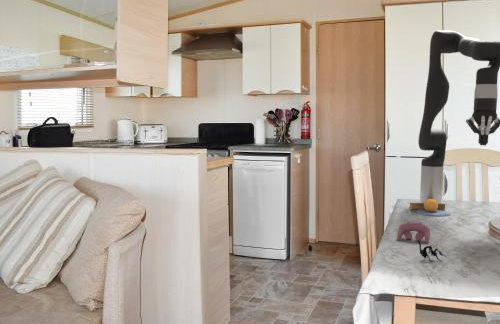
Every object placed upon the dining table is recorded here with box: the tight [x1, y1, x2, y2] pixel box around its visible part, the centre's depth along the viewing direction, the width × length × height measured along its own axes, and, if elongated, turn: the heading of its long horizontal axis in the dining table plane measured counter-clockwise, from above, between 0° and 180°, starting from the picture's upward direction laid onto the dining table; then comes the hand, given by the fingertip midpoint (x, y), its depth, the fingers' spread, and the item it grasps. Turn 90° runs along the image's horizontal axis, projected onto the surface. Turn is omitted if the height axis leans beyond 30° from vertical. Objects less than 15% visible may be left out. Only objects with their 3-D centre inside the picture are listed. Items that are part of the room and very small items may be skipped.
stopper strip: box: [409, 202, 446, 211], centre depth 211 cm, size 2×14×2 cm, turn 87°
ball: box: [424, 199, 438, 212], centre depth 205 cm, size 6×6×6 cm
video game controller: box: [396, 221, 431, 244], centre depth 160 cm, size 10×5×7 cm, turn 66°
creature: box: [417, 240, 448, 263], centre depth 138 cm, size 8×5×8 cm
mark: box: [415, 209, 451, 217], centre depth 203 cm, size 13×13×1 cm
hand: (482, 145), depth 182 cm, fingers closed
